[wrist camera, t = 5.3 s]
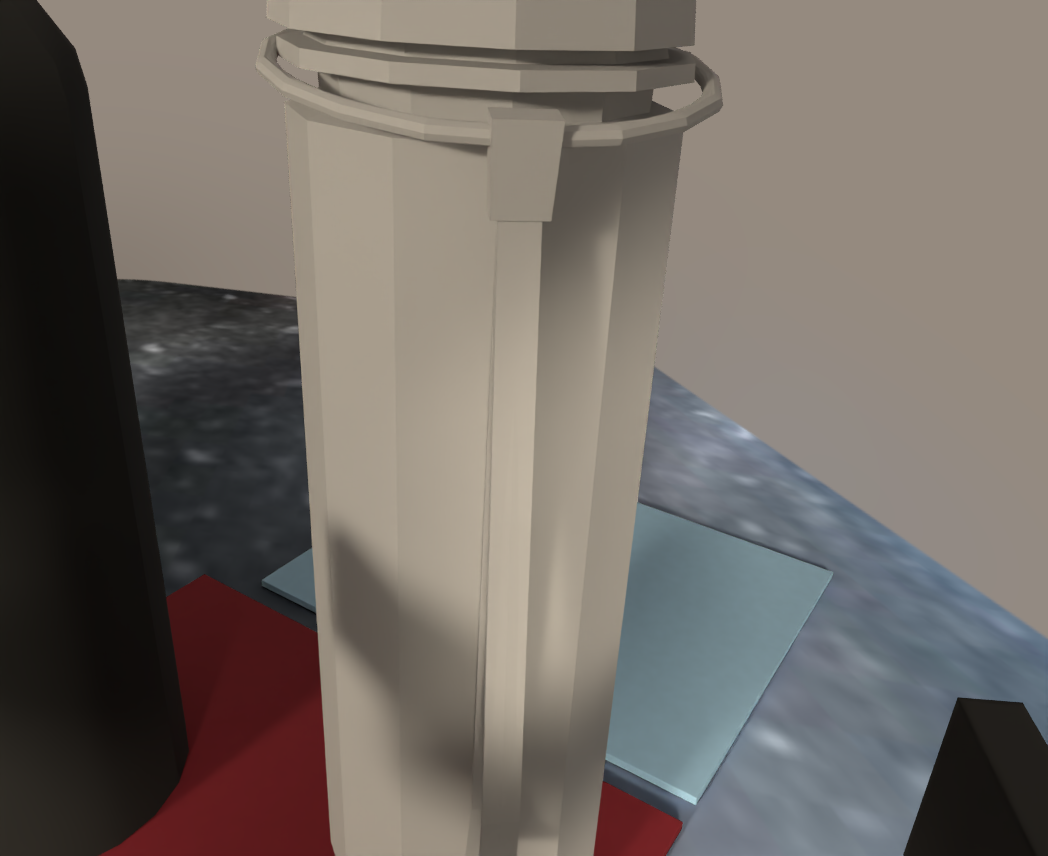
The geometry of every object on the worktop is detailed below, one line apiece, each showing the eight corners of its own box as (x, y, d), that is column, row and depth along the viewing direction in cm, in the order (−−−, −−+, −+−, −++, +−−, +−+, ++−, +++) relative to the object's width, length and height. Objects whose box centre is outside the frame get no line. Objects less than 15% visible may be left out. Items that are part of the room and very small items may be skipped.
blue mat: (832, 577, 38) (833, 571, 38) (695, 805, 28) (697, 798, 28) (473, 448, 47) (473, 443, 47) (261, 586, 36) (261, 579, 36)
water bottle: (323, 756, 28) (258, -255, 17) (578, 737, 30) (678, -219, 18) (306, 1082, 20) (160, -428, 9) (658, 1037, 22) (927, -342, 10)
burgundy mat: (681, 829, 27) (683, 821, 27) (352, 1379, 16) (352, 1373, 16) (205, 580, 36) (204, 573, 36) (-205, 828, 26) (-208, 821, 25)
